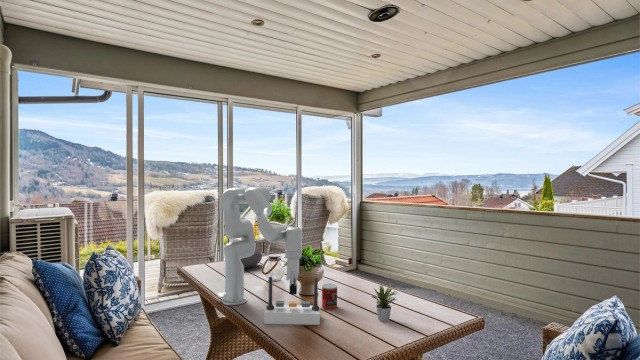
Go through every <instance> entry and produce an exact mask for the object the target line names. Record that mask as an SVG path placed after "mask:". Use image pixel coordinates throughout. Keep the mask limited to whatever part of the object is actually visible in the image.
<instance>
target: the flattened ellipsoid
mask: <svg viewBox="0 0 640 360" xmlns="http://www.w3.org/2000/svg"><path fill="white" fill-rule="evenodd" d="M262 259H263V254H262V252H261V250H259V249H258V248H256V247H255V252H254V254H253V255H252V256H249V257H246V258H242V259H241V262H242V264H243V266H244V269H248V268H252V267H255V266H256V265H258V264H259V263H260V262H261V261H262Z"/></svg>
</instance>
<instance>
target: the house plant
mask: <svg viewBox="0 0 640 360" xmlns="http://www.w3.org/2000/svg"><path fill="white" fill-rule="evenodd" d="M393 289H394V286H392V287H391V285H389V286H388V287H387V288H386V289H385V288H384V285H383V284H379V288H378V289H376V288H373V290H374V293H375V295H376V296H377V297H378V298H377V297H376V296H374V295H372V296H370V298H372V299H374V300H376V305H375V309H376V314H377V320H378V321H380V322H384V323H385V322H389V321H390V317H391V311H392V305H390V303H391V304H393V305H395V302H394V301H396V297H393V296H394V295H396V294H399V292H401V290H400V289H399V291H397V290H395V291H393V292H392V290H393ZM377 290H379V291H377Z"/></svg>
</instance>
